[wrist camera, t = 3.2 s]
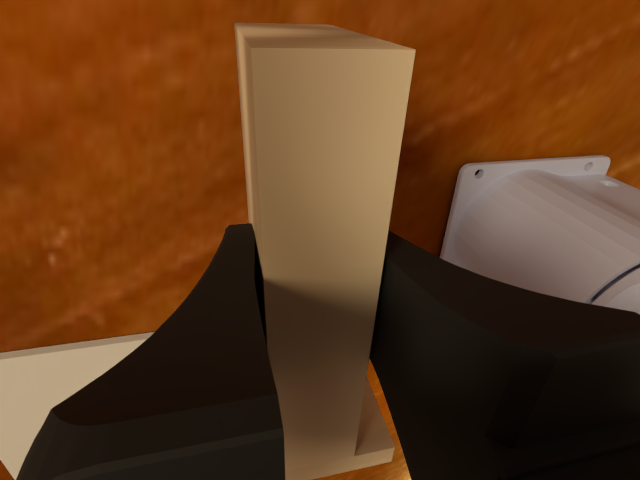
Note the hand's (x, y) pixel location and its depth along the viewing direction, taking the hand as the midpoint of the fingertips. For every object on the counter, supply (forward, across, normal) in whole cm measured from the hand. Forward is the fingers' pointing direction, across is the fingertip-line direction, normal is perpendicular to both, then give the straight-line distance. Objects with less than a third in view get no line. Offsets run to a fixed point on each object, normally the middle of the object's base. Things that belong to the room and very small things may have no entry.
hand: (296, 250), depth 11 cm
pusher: (+2, 0, 0) cm, 2 cm away
